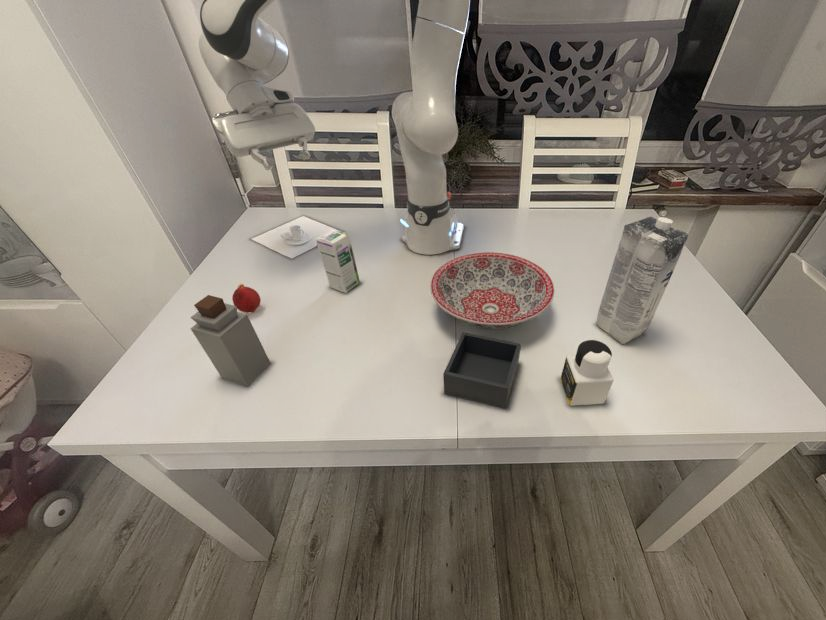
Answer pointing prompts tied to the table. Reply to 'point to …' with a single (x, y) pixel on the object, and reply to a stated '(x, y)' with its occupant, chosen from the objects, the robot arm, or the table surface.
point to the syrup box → (338, 260)
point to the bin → (482, 369)
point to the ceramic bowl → (492, 289)
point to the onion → (246, 299)
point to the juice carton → (639, 276)
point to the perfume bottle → (229, 340)
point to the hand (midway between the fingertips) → (289, 163)
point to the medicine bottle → (587, 374)
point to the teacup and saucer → (293, 236)
